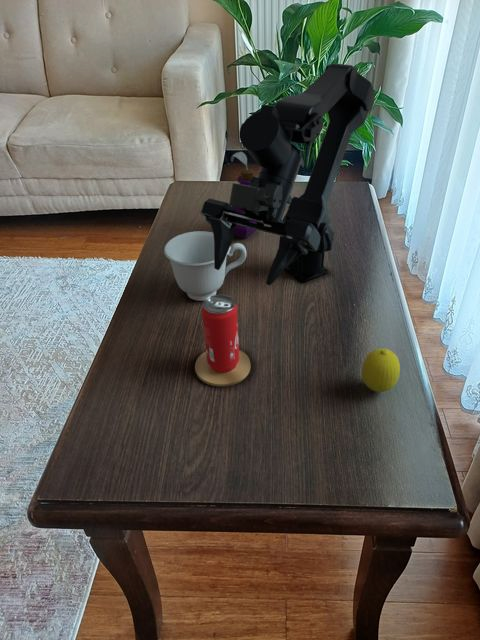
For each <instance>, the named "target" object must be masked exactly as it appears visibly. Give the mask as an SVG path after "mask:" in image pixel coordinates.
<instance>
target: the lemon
mask: <svg viewBox="0 0 480 640" xmlns="http://www.w3.org/2000/svg"><path fill="white" fill-rule="evenodd" d="M400 374H401V365H400V360H399V357H398V355H396V353H395V352H394V351H392V350H391V349H388V348H383V347H382V348H376V349H374V350H372V351H370V352H369V353H368V354H367V355H366V358H364V361H363V363H362V367H361V377H362V380H363V383H364V385H365V386H366V387H367V388H368V389H370V390H371V391H373V392H378V393H384V392H387V391H390V390H391V389H393V388H394V386H395V385H396V384H397V382H398V380H399V378H400Z"/></svg>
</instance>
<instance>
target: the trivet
mask: <svg viewBox="0 0 480 640" xmlns="http://www.w3.org/2000/svg"><path fill="white" fill-rule="evenodd" d="M251 366H252V365H251V360H250V358H249V356H248V354H246V353H245V352H244V351H242V350H241V349H239V362H238V363H237V366H236V368H235V369H234V370H232V371H230V372H227V373H219V372H216V371H214V370H213V369H212V368H211V367H210V365H209V364H208V362H207V354H206V351H204V352H203V353H201V354H200V355H199V356H198V357H197V359H196V361H195V363H194V371H195V374H196V376H197V378H198V379H199V381H202V382H203V384H207V385H209V386H212V387H220V388H222V387H224V388H225V387H230V386H235V385H236V384H239V383H240V382H242V381H243V380H245V379H246V378H247V377H248V375H249V374H250V372H251V369H252V368H251Z"/></svg>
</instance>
